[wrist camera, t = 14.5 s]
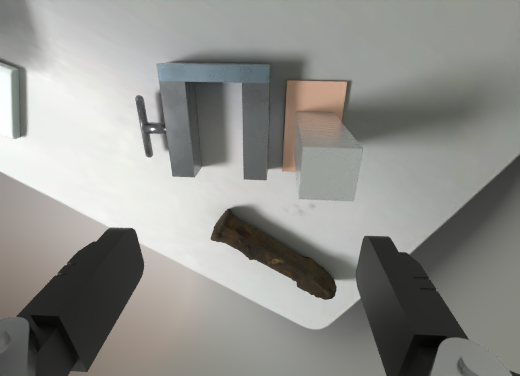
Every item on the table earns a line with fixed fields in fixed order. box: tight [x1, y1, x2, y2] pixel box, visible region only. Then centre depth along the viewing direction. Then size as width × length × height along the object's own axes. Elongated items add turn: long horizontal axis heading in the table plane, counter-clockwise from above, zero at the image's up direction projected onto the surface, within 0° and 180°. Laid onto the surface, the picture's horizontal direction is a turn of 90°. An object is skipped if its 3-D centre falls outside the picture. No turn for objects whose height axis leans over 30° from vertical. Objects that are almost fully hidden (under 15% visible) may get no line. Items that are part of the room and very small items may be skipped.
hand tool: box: [211, 209, 336, 300], centre depth 37 cm, size 19×4×5 cm, turn 55°
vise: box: [135, 62, 270, 180], centre depth 29 cm, size 12×14×3 cm
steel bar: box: [293, 111, 363, 201], centre depth 25 cm, size 4×4×12 cm
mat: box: [282, 80, 347, 172], centre depth 30 cm, size 10×6×1 cm, turn 179°
